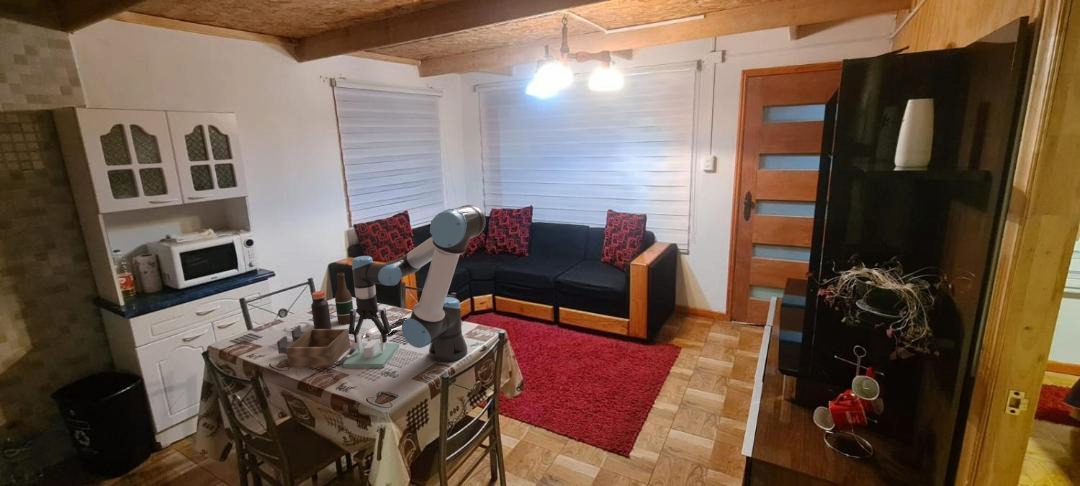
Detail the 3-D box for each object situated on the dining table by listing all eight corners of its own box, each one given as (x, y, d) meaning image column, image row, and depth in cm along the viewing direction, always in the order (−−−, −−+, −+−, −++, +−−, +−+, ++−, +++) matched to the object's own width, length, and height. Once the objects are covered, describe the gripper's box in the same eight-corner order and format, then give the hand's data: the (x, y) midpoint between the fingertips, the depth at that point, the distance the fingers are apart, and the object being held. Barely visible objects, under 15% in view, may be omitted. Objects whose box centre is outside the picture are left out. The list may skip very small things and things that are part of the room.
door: (399, 346, 196) (398, 334, 195) (383, 367, 178) (382, 354, 177) (356, 346, 197) (354, 334, 195) (336, 367, 179) (334, 353, 178)
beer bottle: (340, 319, 227) (334, 271, 222) (356, 318, 228) (351, 270, 223) (335, 325, 220) (329, 276, 214) (352, 324, 221) (346, 275, 215)
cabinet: (350, 346, 197) (347, 324, 194) (330, 367, 179) (326, 343, 177) (303, 346, 197) (299, 324, 195) (278, 367, 180) (274, 343, 178)
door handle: (419, 324, 220) (372, 342, 201) (406, 319, 226) (359, 337, 207) (419, 318, 219) (371, 336, 200) (406, 314, 225) (358, 331, 206)
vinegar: (322, 331, 213) (317, 289, 208) (335, 333, 211) (330, 290, 206) (312, 338, 206) (305, 294, 202) (324, 339, 204) (319, 295, 200)
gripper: (396, 292, 185) (401, 345, 190) (343, 293, 186) (349, 345, 191) (389, 299, 178) (395, 354, 183) (334, 299, 178) (341, 354, 183)
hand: (371, 349), depth 187 cm, fingers open, 9 cm apart
